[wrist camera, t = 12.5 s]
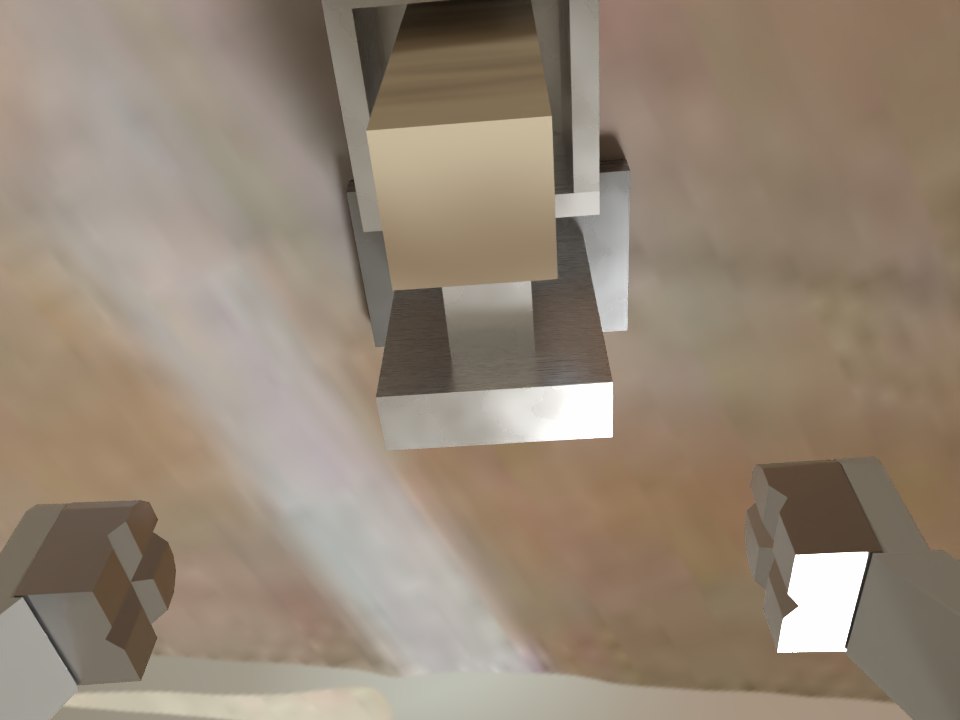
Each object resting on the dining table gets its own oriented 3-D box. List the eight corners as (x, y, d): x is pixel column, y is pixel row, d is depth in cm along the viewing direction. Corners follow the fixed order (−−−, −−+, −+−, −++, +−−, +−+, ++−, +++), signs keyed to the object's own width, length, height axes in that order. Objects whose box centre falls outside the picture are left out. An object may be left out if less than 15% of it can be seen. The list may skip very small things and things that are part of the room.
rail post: (408, 0, 28) (365, 131, 18) (529, -10, 28) (551, 115, 18) (422, 119, 30) (392, 290, 21) (535, 110, 30) (557, 279, 20)
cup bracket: (303, -73, 31) (219, 5, 22) (629, -104, 31) (696, -39, 21) (378, 333, 42) (344, 509, 32) (623, 316, 41) (666, 491, 31)
